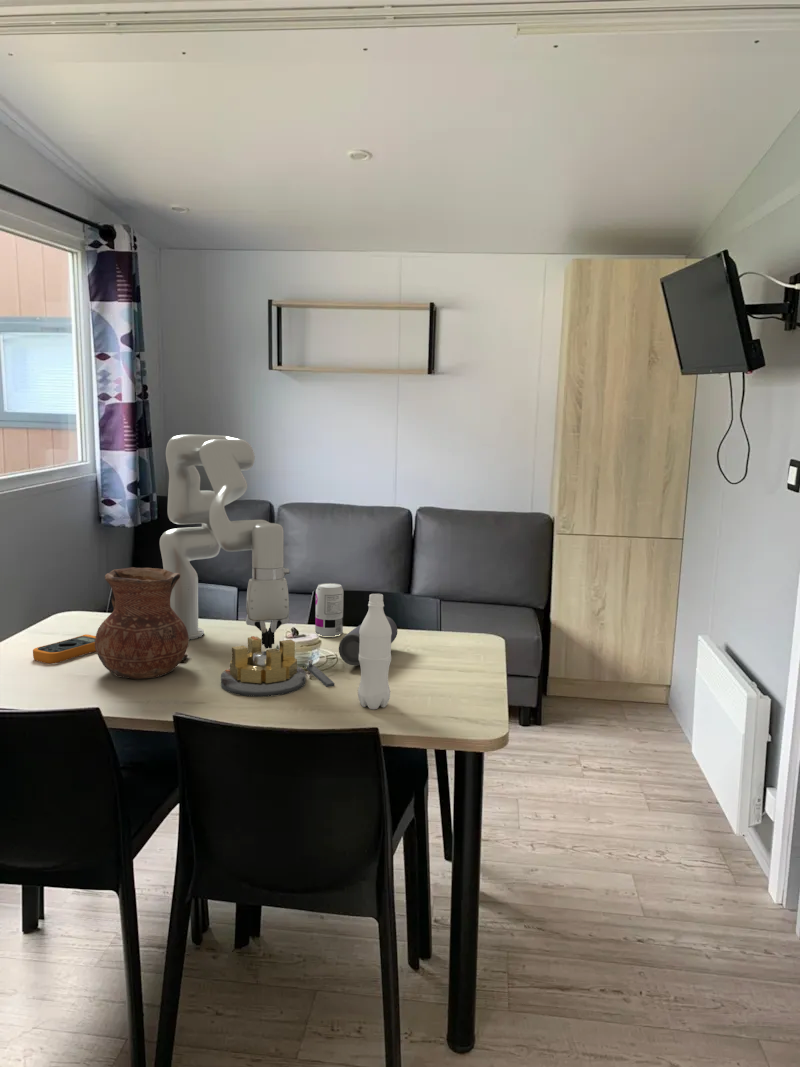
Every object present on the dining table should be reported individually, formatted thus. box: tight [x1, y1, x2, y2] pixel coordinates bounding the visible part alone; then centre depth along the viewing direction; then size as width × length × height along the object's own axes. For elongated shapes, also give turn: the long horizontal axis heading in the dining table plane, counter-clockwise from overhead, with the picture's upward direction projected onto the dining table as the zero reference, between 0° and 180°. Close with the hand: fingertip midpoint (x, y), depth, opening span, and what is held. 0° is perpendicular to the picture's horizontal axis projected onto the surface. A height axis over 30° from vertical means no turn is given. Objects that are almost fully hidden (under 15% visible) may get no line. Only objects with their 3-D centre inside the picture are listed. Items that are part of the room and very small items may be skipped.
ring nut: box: [229, 636, 298, 683], centre depth 181 cm, size 15×15×7 cm
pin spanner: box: [306, 659, 336, 688], centre depth 188 cm, size 16×2×3 cm, turn 25°
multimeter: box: [32, 634, 97, 665], centre depth 201 cm, size 9×18×3 cm, turn 153°
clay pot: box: [95, 566, 190, 680], centre depth 187 cm, size 22×21×25 cm
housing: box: [220, 650, 307, 698], centre depth 182 cm, size 20×20×7 cm
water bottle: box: [357, 593, 392, 710], centre depth 167 cm, size 7×7×25 cm
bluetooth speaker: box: [338, 615, 398, 667], centre depth 204 cm, size 23×9×10 cm, turn 161°
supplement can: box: [314, 582, 344, 636], centre depth 227 cm, size 8×8×15 cm
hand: (268, 647), depth 187 cm, fingers closed
